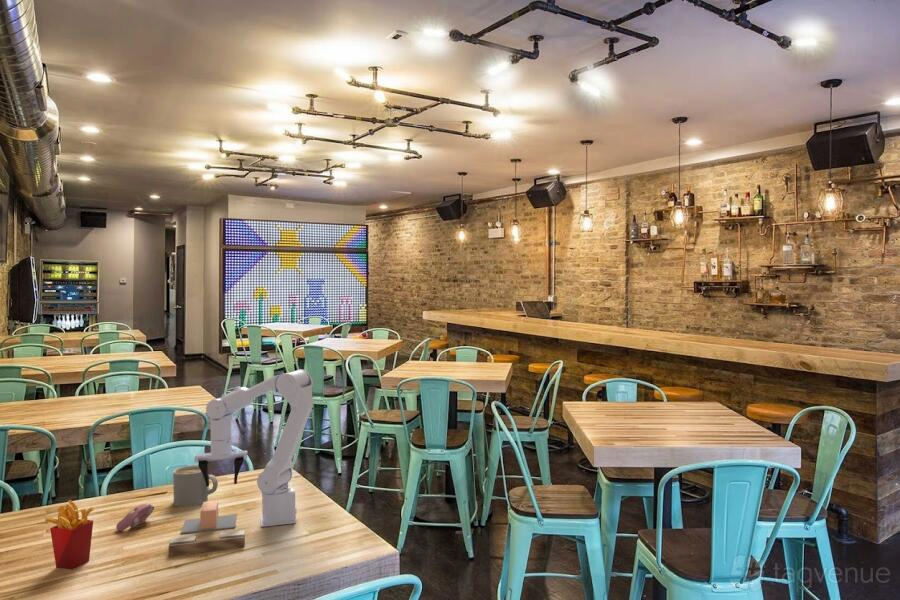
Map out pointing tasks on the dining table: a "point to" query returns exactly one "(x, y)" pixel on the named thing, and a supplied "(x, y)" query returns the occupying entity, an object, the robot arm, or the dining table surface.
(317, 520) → the dining table surface
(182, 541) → the brown u-shaped block
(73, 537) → the french fries
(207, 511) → the salmon pillar
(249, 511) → the dining table surface
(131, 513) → the video game controller
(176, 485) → the coffee mug
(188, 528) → the slate pad
